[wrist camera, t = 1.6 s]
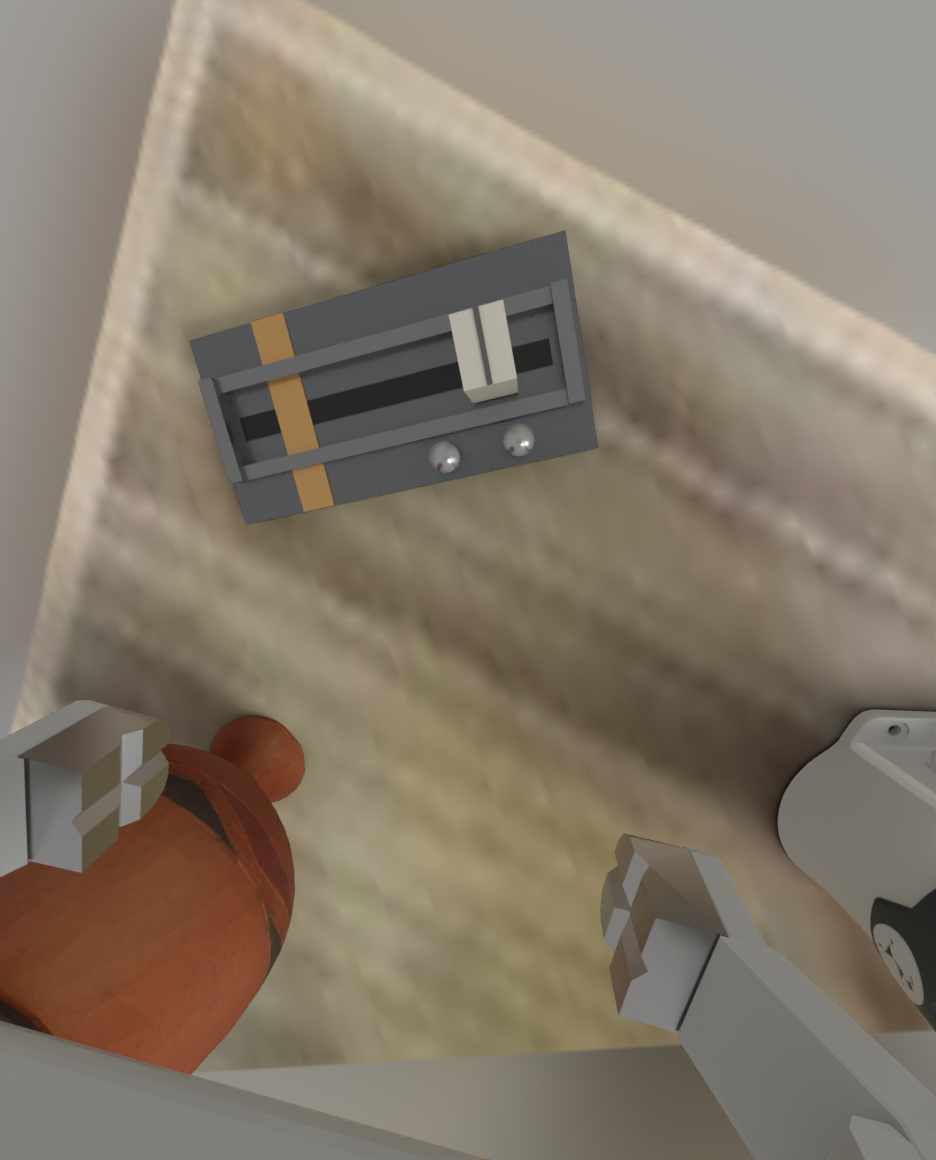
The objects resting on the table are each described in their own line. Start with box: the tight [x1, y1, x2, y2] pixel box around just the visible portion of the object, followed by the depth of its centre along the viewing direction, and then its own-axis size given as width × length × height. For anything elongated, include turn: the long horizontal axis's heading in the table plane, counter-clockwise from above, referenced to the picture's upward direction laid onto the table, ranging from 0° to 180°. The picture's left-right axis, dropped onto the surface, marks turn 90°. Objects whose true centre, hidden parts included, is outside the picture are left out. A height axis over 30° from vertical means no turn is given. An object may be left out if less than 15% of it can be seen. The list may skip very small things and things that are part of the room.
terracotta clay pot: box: [0, 716, 305, 1075], centre depth 31 cm, size 19×19×25 cm
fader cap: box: [449, 300, 518, 404], centre depth 28 cm, size 3×4×5 cm
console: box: [190, 231, 598, 525], centre depth 32 cm, size 26×13×4 cm, turn 102°
